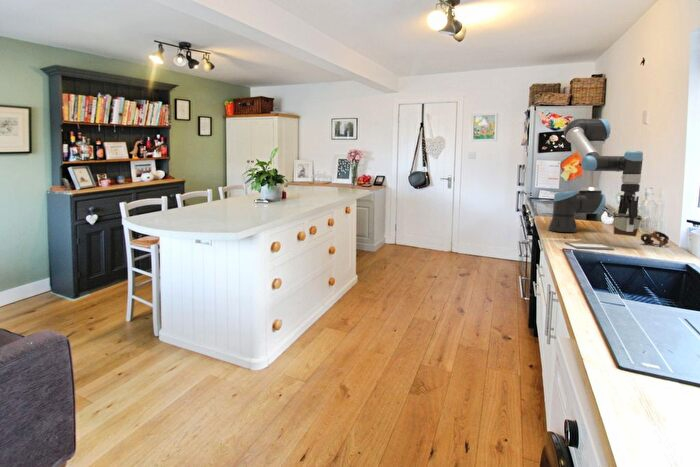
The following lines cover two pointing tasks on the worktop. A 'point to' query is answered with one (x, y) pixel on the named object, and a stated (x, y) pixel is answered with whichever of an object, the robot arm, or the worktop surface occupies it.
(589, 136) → the robot arm
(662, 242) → the brown looped knot
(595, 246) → the board
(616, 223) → the food container
